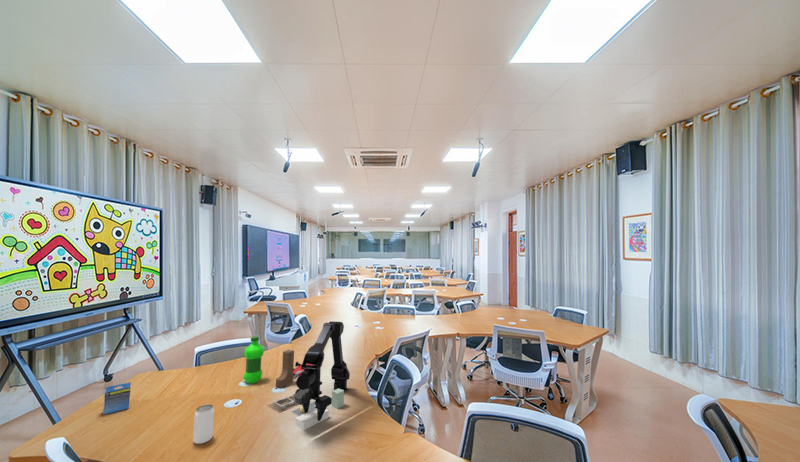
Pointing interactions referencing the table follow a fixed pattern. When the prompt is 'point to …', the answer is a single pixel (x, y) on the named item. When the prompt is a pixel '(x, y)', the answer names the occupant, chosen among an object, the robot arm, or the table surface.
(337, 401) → the peg
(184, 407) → the table surface
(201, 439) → the can
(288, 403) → the build board
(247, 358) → the plastic bottle
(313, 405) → the board
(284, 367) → the wooden block
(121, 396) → the label tape box
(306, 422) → the cover
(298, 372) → the red board with handle
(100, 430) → the table surface
